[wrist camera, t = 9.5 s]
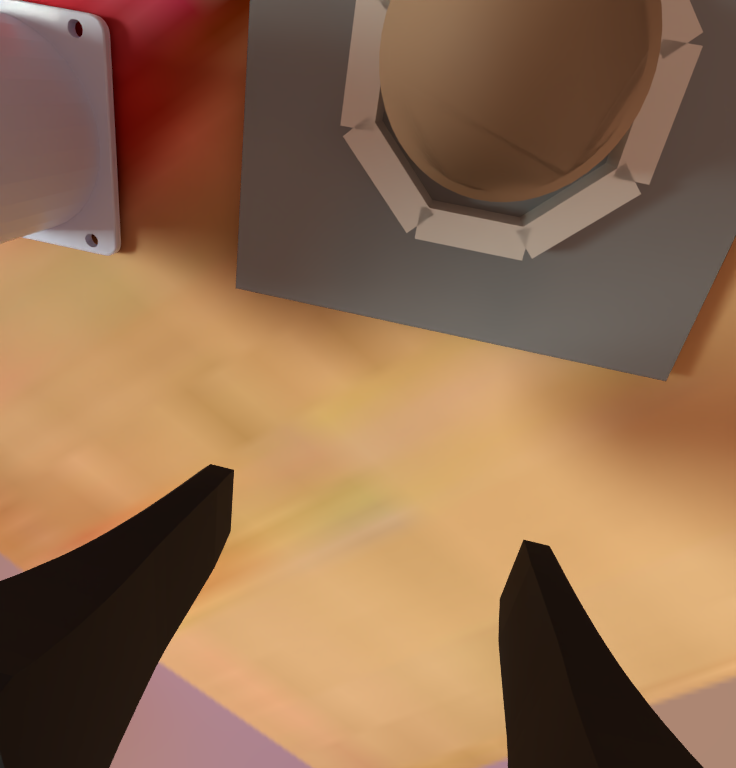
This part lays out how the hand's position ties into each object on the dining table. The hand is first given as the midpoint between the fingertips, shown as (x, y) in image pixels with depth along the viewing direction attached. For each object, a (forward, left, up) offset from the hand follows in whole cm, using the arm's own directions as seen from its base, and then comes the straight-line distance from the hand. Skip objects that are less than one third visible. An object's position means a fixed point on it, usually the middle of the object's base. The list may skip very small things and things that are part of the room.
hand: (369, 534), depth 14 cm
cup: (+1, +11, -9) cm, 14 cm away
